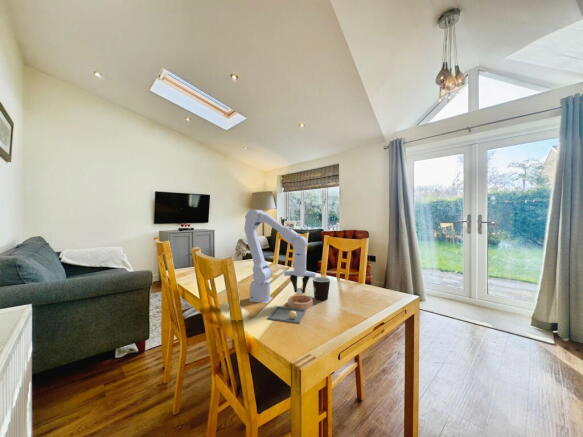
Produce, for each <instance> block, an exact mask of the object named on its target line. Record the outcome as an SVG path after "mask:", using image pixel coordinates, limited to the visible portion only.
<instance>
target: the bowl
mask: <svg viewBox="0 0 583 437" xmlns="http://www.w3.org/2000/svg"><path fill="white" fill-rule="evenodd" d="M313 304H314V300H313V298H312V296H308V295H305V294H302V295H298V294H294V295H291V296H289V297H288V298H287V305H288V307H289V308H297V309H305V310H307V309H310V308H312V307H313Z"/></svg>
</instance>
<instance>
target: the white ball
mask: <svg viewBox="0 0 583 437" xmlns="http://www.w3.org/2000/svg"><path fill="white" fill-rule="evenodd" d="M295 293H296V295H304V293H303V287H297V290H296V292H295Z"/></svg>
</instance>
